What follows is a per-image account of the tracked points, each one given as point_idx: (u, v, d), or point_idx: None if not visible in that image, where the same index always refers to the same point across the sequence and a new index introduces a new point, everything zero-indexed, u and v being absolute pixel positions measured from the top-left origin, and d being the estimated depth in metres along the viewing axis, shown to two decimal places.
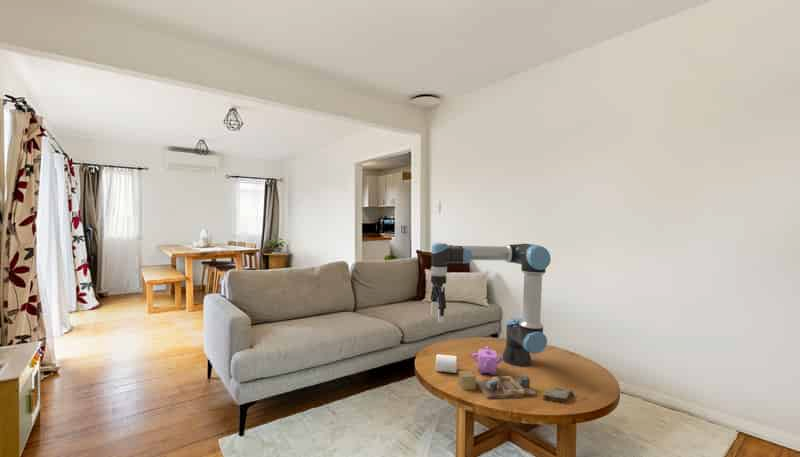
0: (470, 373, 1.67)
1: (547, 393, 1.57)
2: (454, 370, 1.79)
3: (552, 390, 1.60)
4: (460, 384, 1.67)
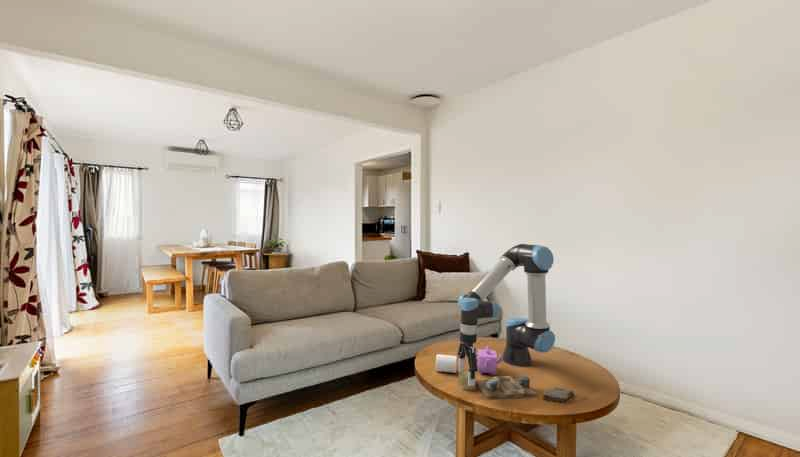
0: None
1: (547, 393, 1.58)
2: (454, 370, 1.79)
3: (552, 390, 1.60)
4: (460, 384, 1.67)
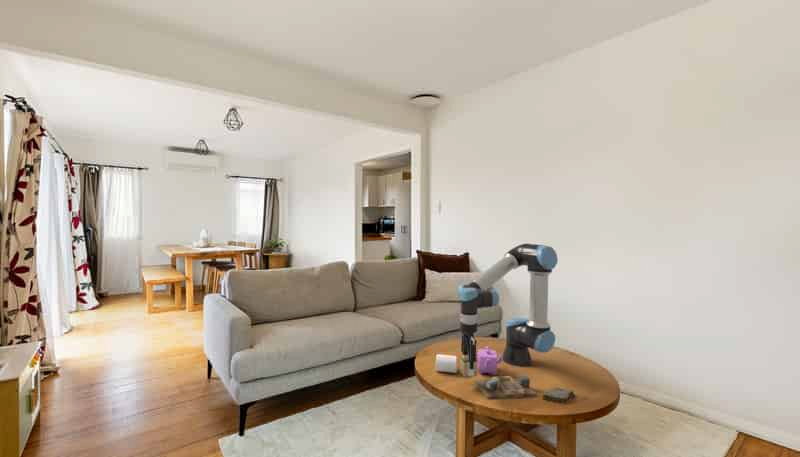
0: None
1: (547, 393, 1.58)
2: (454, 370, 1.79)
3: (552, 390, 1.60)
4: (462, 371, 1.67)
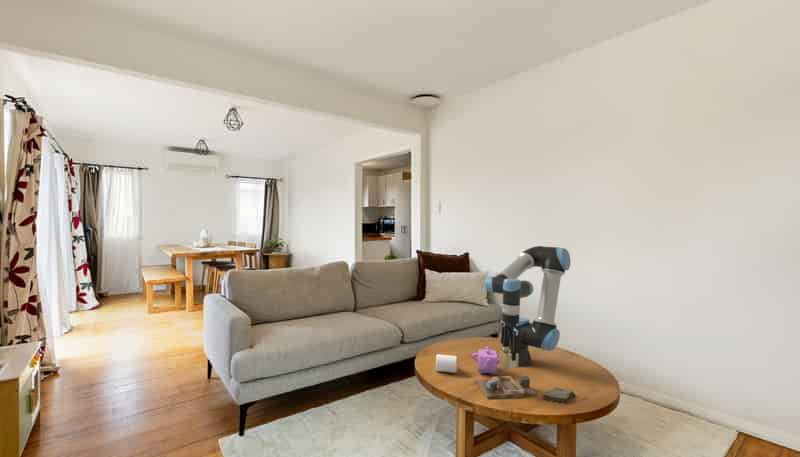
0: None
1: (547, 393, 1.58)
2: (454, 370, 1.79)
3: (552, 390, 1.60)
4: (502, 362, 1.65)
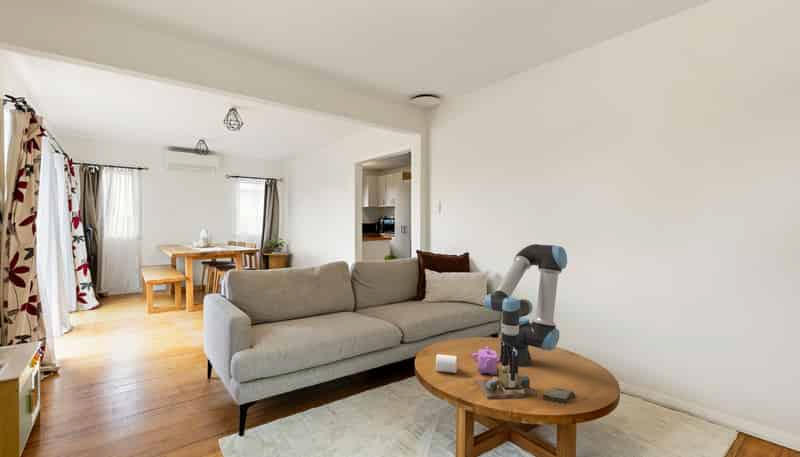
0: None
1: (547, 393, 1.58)
2: (454, 370, 1.79)
3: (552, 390, 1.60)
4: (501, 382, 1.65)
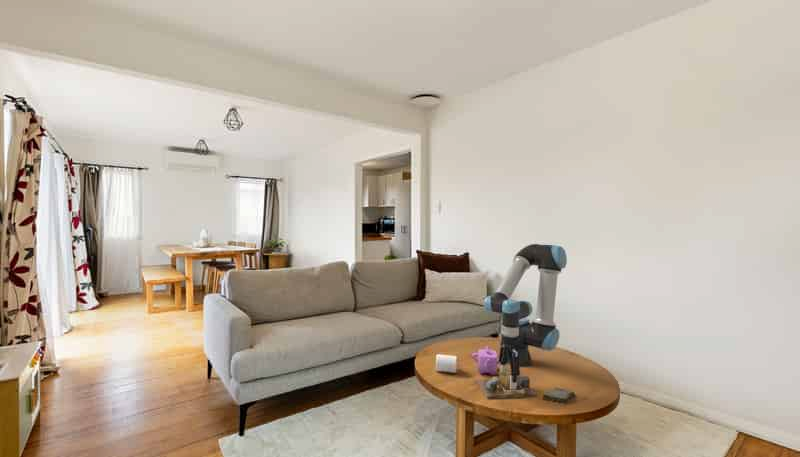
0: (511, 373, 1.66)
1: (547, 393, 1.58)
2: (454, 370, 1.79)
3: (552, 390, 1.60)
4: (501, 384, 1.65)
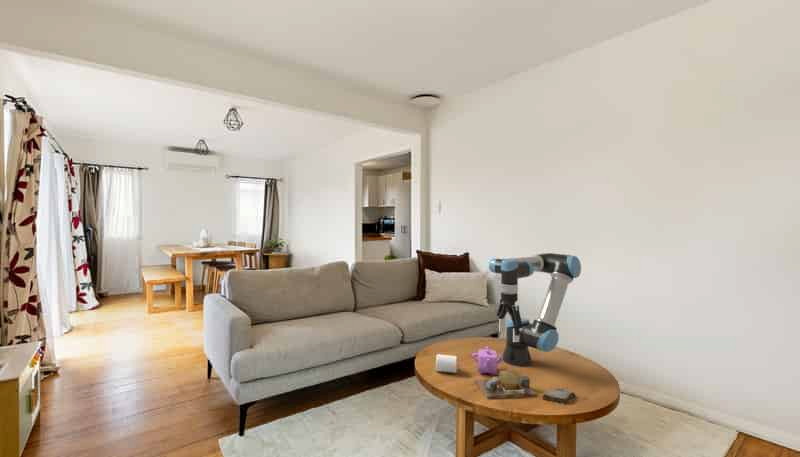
0: (511, 373, 1.66)
1: (546, 393, 1.58)
2: (454, 370, 1.79)
3: (553, 390, 1.60)
4: (501, 384, 1.65)
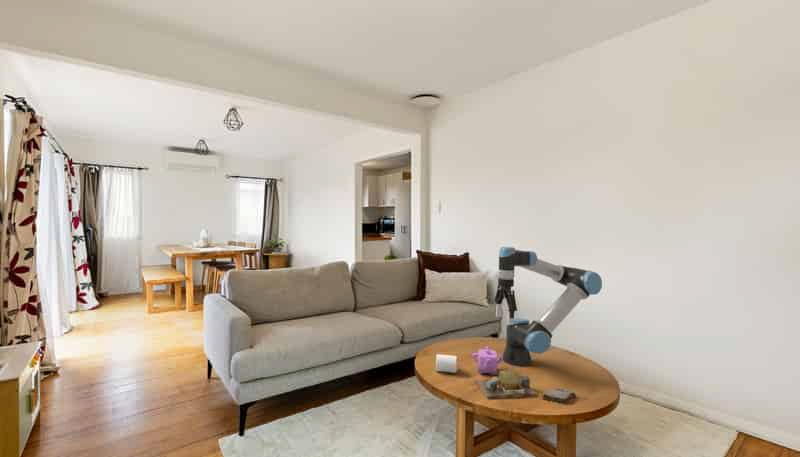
0: (511, 373, 1.66)
1: (546, 393, 1.58)
2: (454, 370, 1.79)
3: (553, 390, 1.60)
4: (501, 384, 1.65)
